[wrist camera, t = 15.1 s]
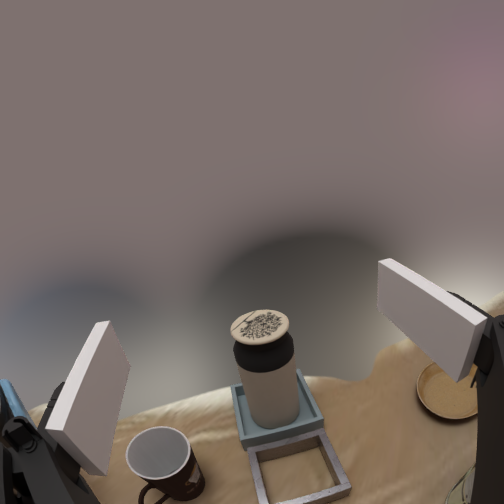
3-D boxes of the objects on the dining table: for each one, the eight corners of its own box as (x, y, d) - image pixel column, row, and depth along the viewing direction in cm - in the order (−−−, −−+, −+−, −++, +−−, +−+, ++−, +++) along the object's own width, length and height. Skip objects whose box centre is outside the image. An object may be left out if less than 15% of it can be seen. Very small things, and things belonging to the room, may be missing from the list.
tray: (244, 450, 35) (240, 440, 34) (234, 397, 47) (230, 385, 46) (323, 430, 37) (323, 418, 36) (300, 381, 48) (299, 368, 47)
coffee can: (460, 465, 22) (502, 405, 17) (513, 476, 14) (565, 416, 10) (429, 525, 15) (478, 485, 11) (489, 537, 8) (554, 494, 3)
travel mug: (309, 405, 41) (303, 317, 35) (278, 437, 36) (261, 351, 30) (272, 388, 47) (257, 303, 41) (241, 415, 42) (215, 330, 36)
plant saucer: (458, 357, 42) (461, 347, 41) (500, 401, 28) (506, 391, 27) (399, 384, 41) (402, 374, 40) (439, 442, 27) (444, 433, 27)
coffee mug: (184, 453, 35) (161, 416, 32) (224, 480, 30) (205, 448, 27) (132, 493, 27) (97, 462, 24) (169, 528, 22) (134, 505, 19)
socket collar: (265, 519, 23) (261, 513, 22) (250, 458, 34) (246, 447, 32) (348, 495, 24) (351, 487, 23) (322, 439, 35) (323, 427, 34)
